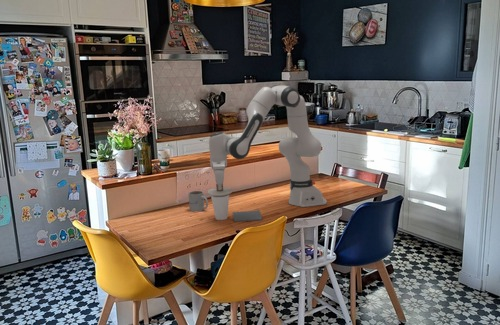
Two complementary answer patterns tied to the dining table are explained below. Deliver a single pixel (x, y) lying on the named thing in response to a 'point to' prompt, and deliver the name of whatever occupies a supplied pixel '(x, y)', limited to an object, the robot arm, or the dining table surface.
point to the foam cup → (220, 206)
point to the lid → (219, 191)
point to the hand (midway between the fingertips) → (219, 188)
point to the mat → (247, 216)
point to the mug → (197, 201)
